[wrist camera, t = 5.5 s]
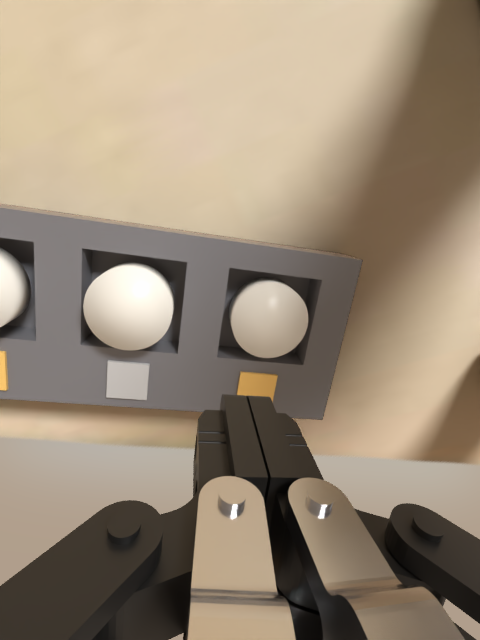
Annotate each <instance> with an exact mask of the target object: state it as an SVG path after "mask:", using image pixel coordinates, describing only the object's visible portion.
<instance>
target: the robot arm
mask: <svg viewBox="0 0 480 640" xmlns="http://www.w3.org/2000/svg"><path fill="white" fill-rule="evenodd" d="M193 481H194V482H193V483H194V485H193V486H194V488H193V499H192V500H191V501H190V502H188V503H187V504H186V505H184V506H183V507H181V508H179V509H177V510H174V511H172V512H168V513H165V514H161V515H160V514H159V513H158V512H157V511H156V509H154V508H153V507H152V506H150V505H148V504H146V503H143V502H140V501H130V500H129V501H121V502H117V503H114V504H111V505H109V506H107V507H105V508H103V509H102V510H100V511H99V512H97V513H96V514H95V515H93V516H92V517H91V518H89V519H88V520H87V521H86V522H84V523H83V524H82V525H80V526H79V527H78V528H76V529H75V530H74V531H72V532H71V533H70V534H68V535H67V536H66V537H65V538H63V539H62V540H60V541H59V542H58V543H56V544H55V545H54V546H53V547H51V548H50V549H49V550H47V551H46V552H45V553H43V554H42V555H41V556H39V557H38V558H37V559H36V560H34V561H33V562H31V563H30V564H29V565H28V566H26V567H25V568H24V569H22V570H21V571H20V572H18V573H17V574H16V575H14V576H13V577H12V578H10V579H9V580H8V581H6V582H5V583H4V584H2V585H1V586H0V640H168V639H171V638H173V637H175V636H177V635H179V634H182V633H184V636H183V640H476V639H475V638H473V637H472V636H471V635H469V634H468V633H467V632H466V631H464V630H463V629H462V628H461V627H459V626H458V625H457V624H455V623H454V622H453V621H452V620H451V618H450V617H449V616H448V614H447V613H446V611H445V610H444V608H443V605H444V602H445V600H446V599H448V600H449V601H450V602H451V603H453V604H454V605H455V606H457V607H458V608H460V609H461V610H463V612H465V613H466V614H468V615H469V616H470V617H472V618H473V619H474V620H475V621H477V622H478V623H480V540H479V539H478V538H476V537H474V536H473V535H471V534H470V533H468V532H466V531H465V530H463V529H461V528H460V527H458V526H457V525H455V524H453V523H451V522H450V521H448V520H447V519H445V518H443V517H442V516H440V515H438V514H437V513H435V512H433V511H431V510H429V509H427V508H425V507H422V506H419V505H415V504H400V505H397V506H396V507H395V508H394V509H393V510H392V512H391V515H390V518H389V519H387V518H384V517H380V516H376V515H373V514H369V513H366V512H362V511H359V510H356V509H354V508H353V506H352V505H351V503H350V501H349V500H348V498H347V497H346V496H345V494H344V493H343V492H342V491H341V490H340V489H338V488H337V487H336V486H334V485H333V484H331V483H329V482H327V481H324V479H323V477H322V475H321V473H320V471H319V469H318V467H317V465H316V462H315V460H314V459H313V456H312V454H311V452H310V450H309V448H308V447H307V444H306V441H305V439H304V437H302V433H301V431H300V429H299V427H298V425H297V423H296V422H295V421H294V420H293V419H292V418H290V417H289V416H288V415H287V414H286V413H276V410H275V408H274V405H273V403H272V400H271V398H270V397H266V396H248V395H247V396H245V395H228V394H222V397H221V403H220V410H204V412H203V413H202V415H201V416H200V417H199V419H198V426H197V436H196V445H195V455H194V479H193Z"/></svg>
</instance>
